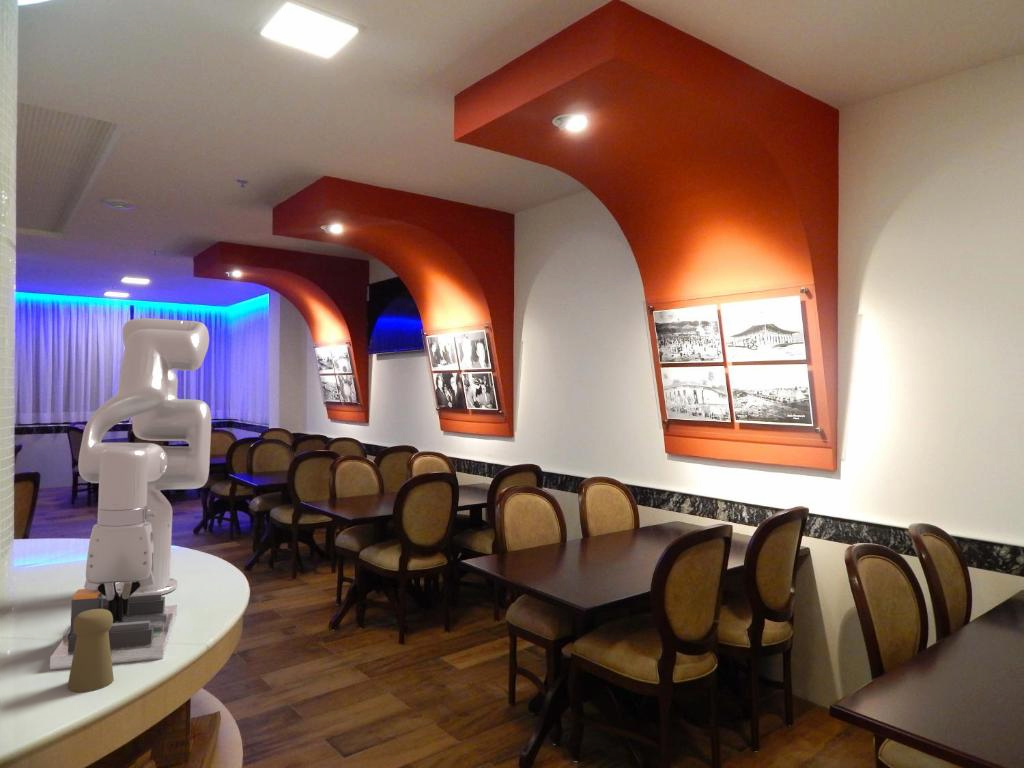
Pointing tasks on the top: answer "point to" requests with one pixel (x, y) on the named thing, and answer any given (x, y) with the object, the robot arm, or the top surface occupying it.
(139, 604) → the long gray rail
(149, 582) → the robot arm
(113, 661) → the panel
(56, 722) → the top surface
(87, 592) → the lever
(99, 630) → the cork
